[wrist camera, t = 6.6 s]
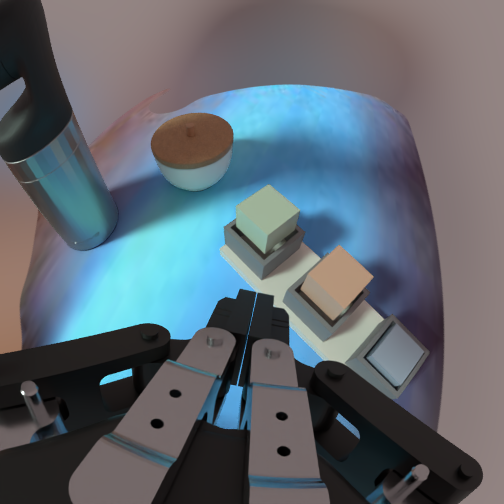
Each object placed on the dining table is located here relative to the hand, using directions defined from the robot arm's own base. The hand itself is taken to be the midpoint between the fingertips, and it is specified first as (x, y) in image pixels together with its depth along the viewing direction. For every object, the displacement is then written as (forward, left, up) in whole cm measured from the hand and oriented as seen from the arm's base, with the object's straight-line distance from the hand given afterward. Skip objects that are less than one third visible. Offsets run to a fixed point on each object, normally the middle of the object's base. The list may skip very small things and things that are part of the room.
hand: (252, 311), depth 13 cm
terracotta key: (-3, +10, -14) cm, 17 cm away
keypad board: (-3, +10, -19) cm, 22 cm away
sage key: (-12, +7, -14) cm, 19 cm away
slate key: (+6, +13, -17) cm, 22 cm away
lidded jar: (-27, +3, -19) cm, 33 cm away
